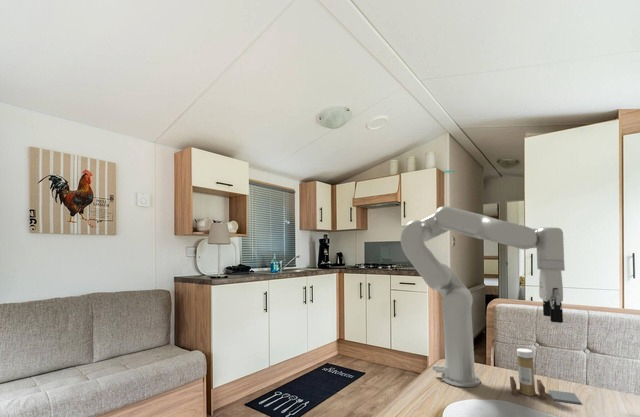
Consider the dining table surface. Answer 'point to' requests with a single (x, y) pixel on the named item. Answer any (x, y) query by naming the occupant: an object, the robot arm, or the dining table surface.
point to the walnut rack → (539, 388)
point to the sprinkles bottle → (526, 371)
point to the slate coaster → (564, 397)
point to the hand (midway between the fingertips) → (552, 319)
